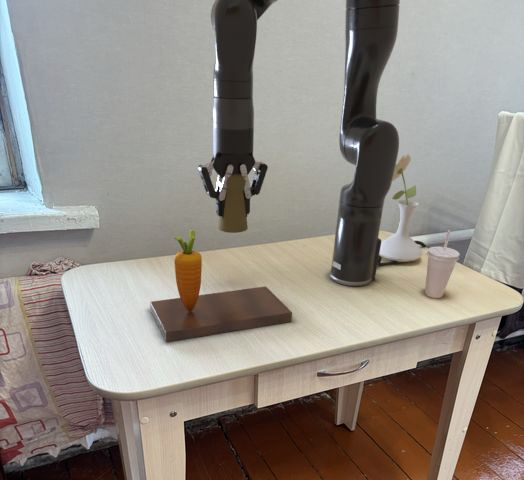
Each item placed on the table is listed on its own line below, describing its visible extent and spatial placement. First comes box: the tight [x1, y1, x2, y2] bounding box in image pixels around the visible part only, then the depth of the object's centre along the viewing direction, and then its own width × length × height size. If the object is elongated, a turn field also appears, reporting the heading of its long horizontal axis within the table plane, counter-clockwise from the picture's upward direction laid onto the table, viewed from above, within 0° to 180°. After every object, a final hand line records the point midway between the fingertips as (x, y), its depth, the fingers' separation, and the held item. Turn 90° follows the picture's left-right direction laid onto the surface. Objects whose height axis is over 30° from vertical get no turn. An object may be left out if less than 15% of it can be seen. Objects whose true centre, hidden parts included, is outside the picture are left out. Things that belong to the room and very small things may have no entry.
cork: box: [217, 173, 248, 234], centre depth 99 cm, size 6×6×11 cm
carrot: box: [174, 229, 203, 312], centre depth 89 cm, size 5×5×15 cm
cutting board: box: [149, 285, 293, 343], centre depth 95 cm, size 24×12×2 cm, turn 113°
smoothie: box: [424, 229, 461, 299], centre depth 105 cm, size 6×6×14 cm
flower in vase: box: [379, 153, 423, 263], centre depth 121 cm, size 13×11×25 cm
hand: (233, 216), depth 101 cm, fingers closed on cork, 4 cm apart
